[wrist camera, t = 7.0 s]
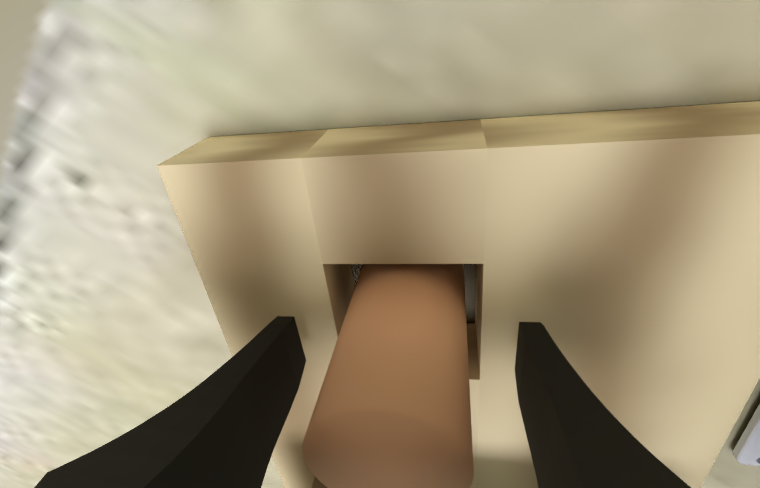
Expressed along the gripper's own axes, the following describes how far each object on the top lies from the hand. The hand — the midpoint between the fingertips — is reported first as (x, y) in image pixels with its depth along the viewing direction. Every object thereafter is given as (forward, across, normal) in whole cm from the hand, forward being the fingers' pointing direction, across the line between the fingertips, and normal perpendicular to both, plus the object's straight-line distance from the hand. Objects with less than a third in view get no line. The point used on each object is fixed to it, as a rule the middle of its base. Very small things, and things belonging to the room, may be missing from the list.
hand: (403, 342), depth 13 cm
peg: (+4, 0, 0) cm, 4 cm away
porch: (+4, -2, +3) cm, 5 cm away
